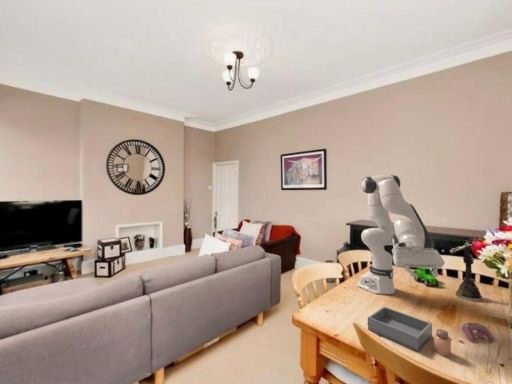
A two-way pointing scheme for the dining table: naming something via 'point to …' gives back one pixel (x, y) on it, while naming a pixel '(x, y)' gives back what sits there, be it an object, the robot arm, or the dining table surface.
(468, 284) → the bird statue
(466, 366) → the dining table surface
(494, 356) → the dining table surface
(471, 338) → the purple animal figurine
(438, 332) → the jar
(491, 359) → the dining table surface
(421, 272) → the toy tractor
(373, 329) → the bin
